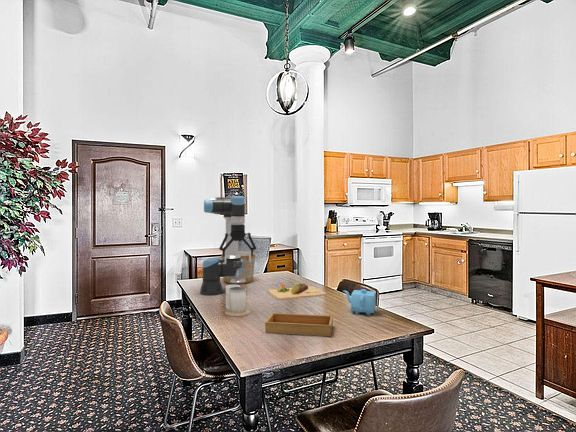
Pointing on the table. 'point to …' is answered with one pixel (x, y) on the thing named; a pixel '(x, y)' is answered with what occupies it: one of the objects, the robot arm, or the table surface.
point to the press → (236, 302)
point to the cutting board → (295, 292)
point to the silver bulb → (237, 265)
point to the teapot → (362, 301)
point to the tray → (299, 324)
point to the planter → (244, 268)
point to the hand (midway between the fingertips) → (237, 262)
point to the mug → (230, 287)
